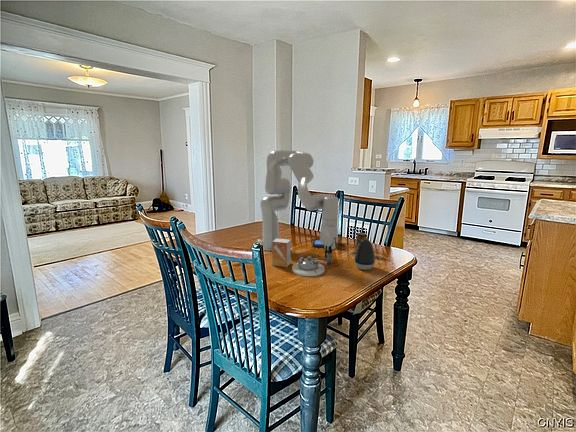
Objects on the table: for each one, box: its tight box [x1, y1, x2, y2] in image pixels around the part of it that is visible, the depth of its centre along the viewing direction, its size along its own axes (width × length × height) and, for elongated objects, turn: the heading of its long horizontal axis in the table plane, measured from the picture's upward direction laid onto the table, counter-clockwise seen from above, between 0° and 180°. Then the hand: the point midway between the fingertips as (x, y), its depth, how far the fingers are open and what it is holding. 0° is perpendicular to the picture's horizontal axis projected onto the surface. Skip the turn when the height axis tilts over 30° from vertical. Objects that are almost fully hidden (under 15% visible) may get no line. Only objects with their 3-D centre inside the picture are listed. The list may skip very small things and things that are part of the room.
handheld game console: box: [311, 238, 325, 249], centre depth 200 cm, size 16×13×9 cm
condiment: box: [350, 232, 368, 256], centre depth 181 cm, size 7×8×12 cm
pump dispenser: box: [353, 238, 376, 271], centre depth 158 cm, size 10×10×15 cm
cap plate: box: [291, 262, 325, 277], centre depth 156 cm, size 16×16×2 cm
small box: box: [271, 238, 292, 268], centre depth 163 cm, size 8×6×13 cm
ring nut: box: [297, 252, 333, 271], centre depth 155 cm, size 16×10×8 cm, turn 80°
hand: (328, 257), depth 157 cm, fingers closed
